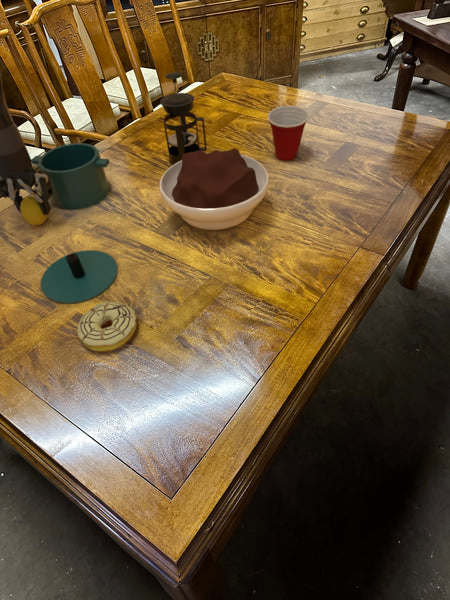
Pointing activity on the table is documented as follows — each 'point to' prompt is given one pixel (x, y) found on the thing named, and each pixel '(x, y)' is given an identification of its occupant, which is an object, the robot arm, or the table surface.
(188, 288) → the table surface
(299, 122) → the plastic cup
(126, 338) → the decorated donut
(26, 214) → the lemon
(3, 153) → the robot arm
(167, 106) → the french press
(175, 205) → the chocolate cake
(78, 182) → the pot
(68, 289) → the lid
